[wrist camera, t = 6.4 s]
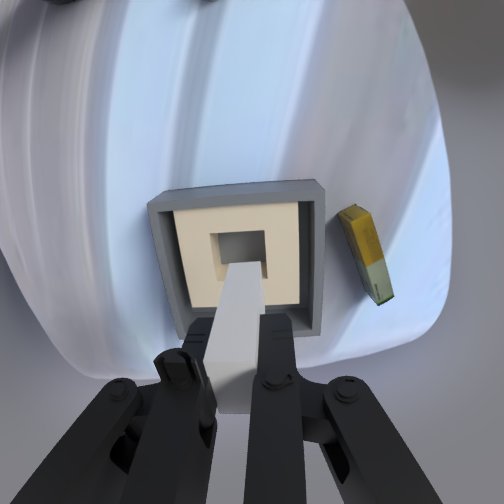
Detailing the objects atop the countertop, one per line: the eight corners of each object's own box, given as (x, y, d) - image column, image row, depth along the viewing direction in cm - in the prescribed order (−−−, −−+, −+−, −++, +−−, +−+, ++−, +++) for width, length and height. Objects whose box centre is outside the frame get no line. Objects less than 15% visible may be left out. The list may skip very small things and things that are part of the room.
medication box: (382, 282, 36) (395, 298, 32) (365, 291, 36) (377, 308, 32) (356, 202, 31) (371, 211, 27) (336, 212, 31) (349, 223, 28)
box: (164, 191, 32) (146, 203, 27) (315, 179, 30) (324, 189, 25) (188, 313, 38) (179, 339, 33) (314, 308, 37) (320, 335, 32)
